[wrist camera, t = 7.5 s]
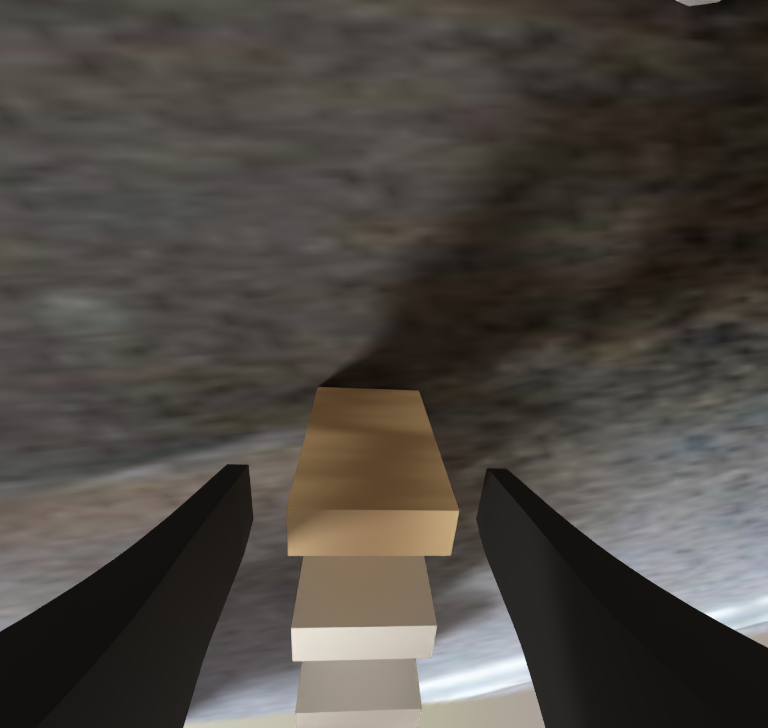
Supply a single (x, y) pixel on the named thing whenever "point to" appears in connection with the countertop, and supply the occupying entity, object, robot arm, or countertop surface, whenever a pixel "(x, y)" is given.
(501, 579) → the robot arm
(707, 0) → the rook chess piece
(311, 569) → the domino
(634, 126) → the countertop surface
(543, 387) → the countertop surface
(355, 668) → the domino
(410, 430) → the ochre domino
